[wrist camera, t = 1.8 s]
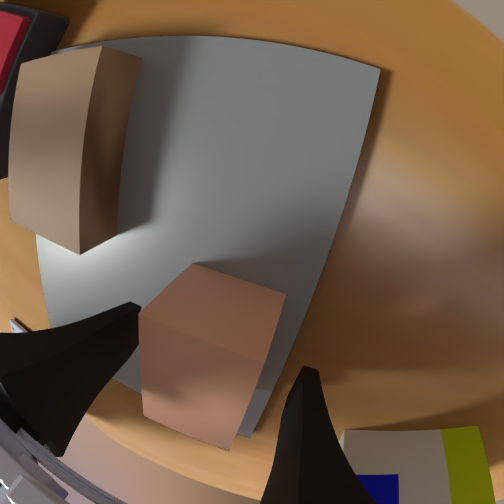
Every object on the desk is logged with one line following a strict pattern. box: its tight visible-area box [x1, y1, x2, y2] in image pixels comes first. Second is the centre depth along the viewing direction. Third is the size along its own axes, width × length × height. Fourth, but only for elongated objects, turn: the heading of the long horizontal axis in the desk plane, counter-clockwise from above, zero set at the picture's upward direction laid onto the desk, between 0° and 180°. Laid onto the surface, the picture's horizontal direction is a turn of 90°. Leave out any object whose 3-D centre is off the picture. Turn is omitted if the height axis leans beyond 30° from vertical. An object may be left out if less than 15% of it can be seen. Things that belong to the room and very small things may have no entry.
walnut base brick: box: [8, 46, 142, 255], centre depth 10 cm, size 8×6×2 cm
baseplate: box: [36, 36, 381, 438], centre depth 13 cm, size 20×16×1 cm
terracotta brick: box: [139, 263, 286, 451], centre depth 11 cm, size 6×4×4 cm, turn 167°
